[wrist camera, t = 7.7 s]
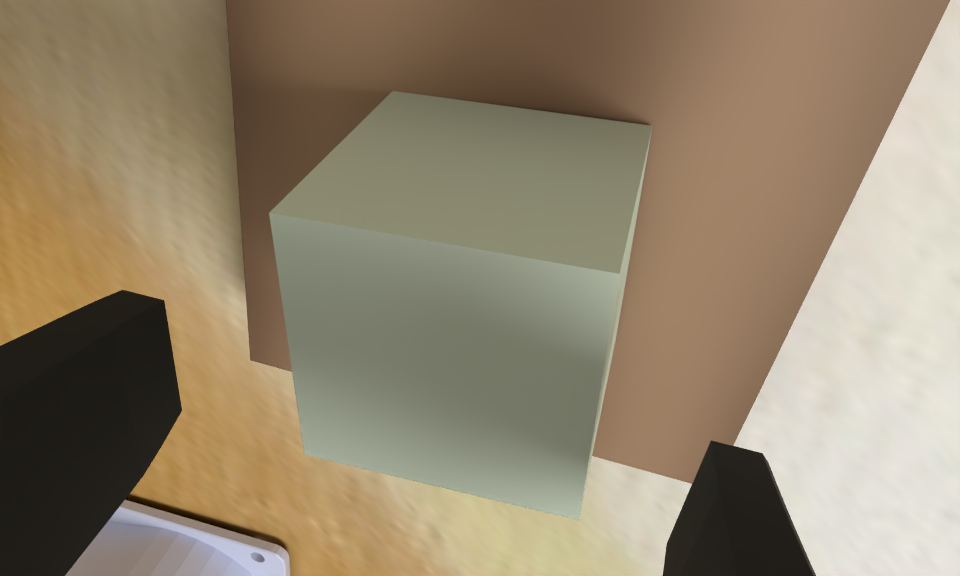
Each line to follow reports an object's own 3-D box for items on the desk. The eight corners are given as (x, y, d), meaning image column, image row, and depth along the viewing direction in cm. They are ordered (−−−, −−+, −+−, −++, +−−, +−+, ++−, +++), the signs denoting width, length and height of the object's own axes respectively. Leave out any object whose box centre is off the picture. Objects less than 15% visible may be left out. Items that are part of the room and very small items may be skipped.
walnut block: (304, 289, 21) (250, 359, 18) (298, -186, 14) (214, -171, 12) (712, 397, 19) (711, 489, 17) (917, -71, 13) (964, -29, 10)
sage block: (400, 298, 16) (304, 454, 12) (393, 90, 13) (268, 213, 10) (615, 339, 15) (578, 520, 12) (652, 125, 13) (619, 274, 9)
